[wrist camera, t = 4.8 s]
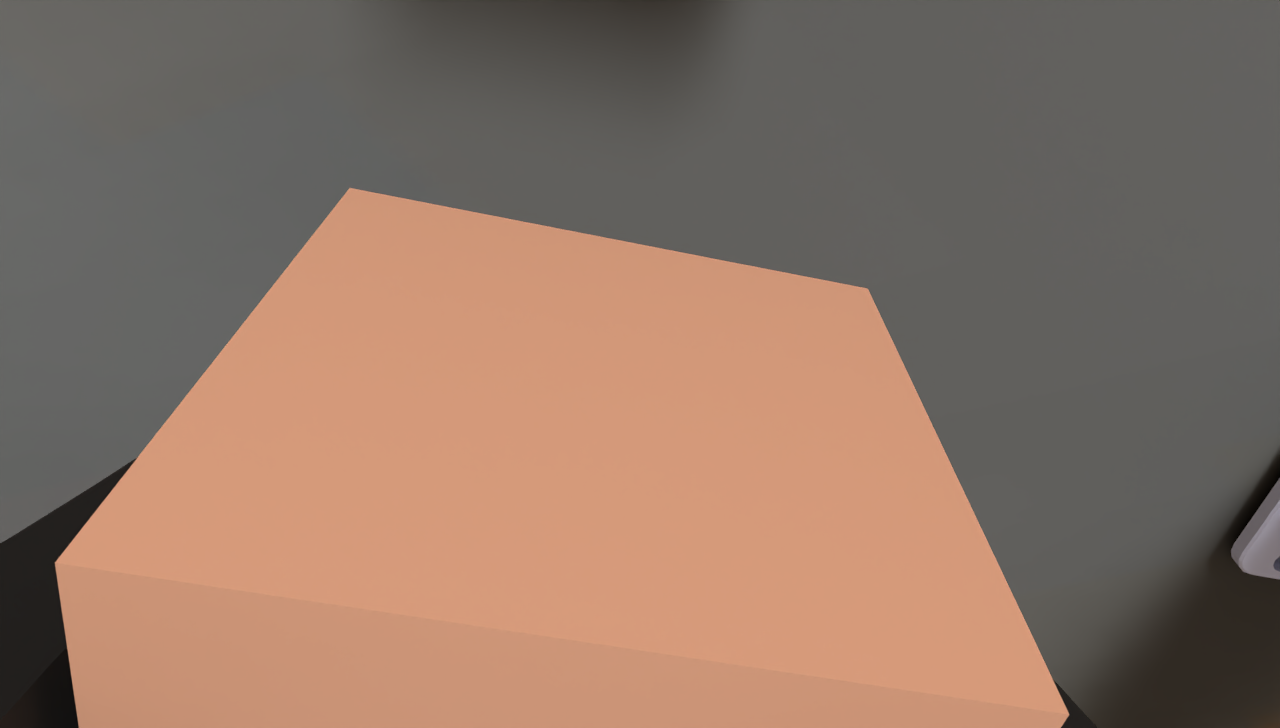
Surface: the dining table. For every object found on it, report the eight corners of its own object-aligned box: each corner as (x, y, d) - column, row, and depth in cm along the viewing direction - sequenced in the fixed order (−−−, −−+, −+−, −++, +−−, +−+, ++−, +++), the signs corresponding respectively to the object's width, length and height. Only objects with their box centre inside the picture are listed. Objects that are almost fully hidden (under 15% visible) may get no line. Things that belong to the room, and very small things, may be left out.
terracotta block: (867, 289, 9) (1068, 714, 5) (736, 644, 12) (791, 1134, 7) (349, 188, 9) (53, 562, 4) (329, 582, 11) (128, 1070, 7)
